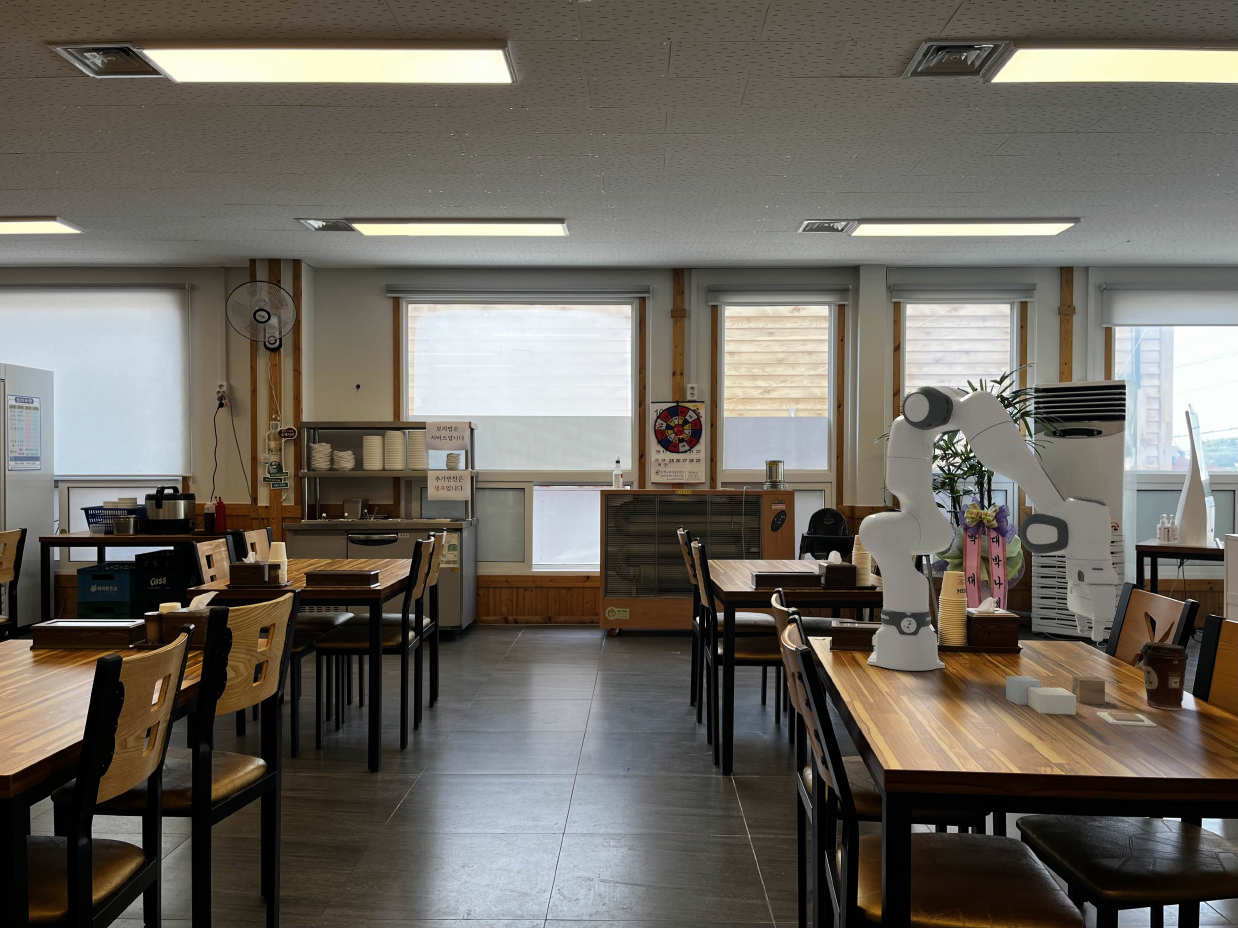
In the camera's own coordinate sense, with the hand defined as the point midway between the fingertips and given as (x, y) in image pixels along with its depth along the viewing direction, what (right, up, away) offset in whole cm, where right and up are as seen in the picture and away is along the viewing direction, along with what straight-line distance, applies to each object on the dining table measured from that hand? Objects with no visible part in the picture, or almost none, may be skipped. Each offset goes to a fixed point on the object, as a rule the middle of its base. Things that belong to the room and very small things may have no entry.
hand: (1089, 637), depth 194 cm
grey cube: (-15, -14, -1) cm, 20 cm away
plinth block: (-12, -14, -8) cm, 20 cm away
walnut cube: (0, -14, 0) cm, 14 cm away
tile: (-1, -13, -16) cm, 21 cm away
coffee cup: (+13, -14, -5) cm, 20 cm away
